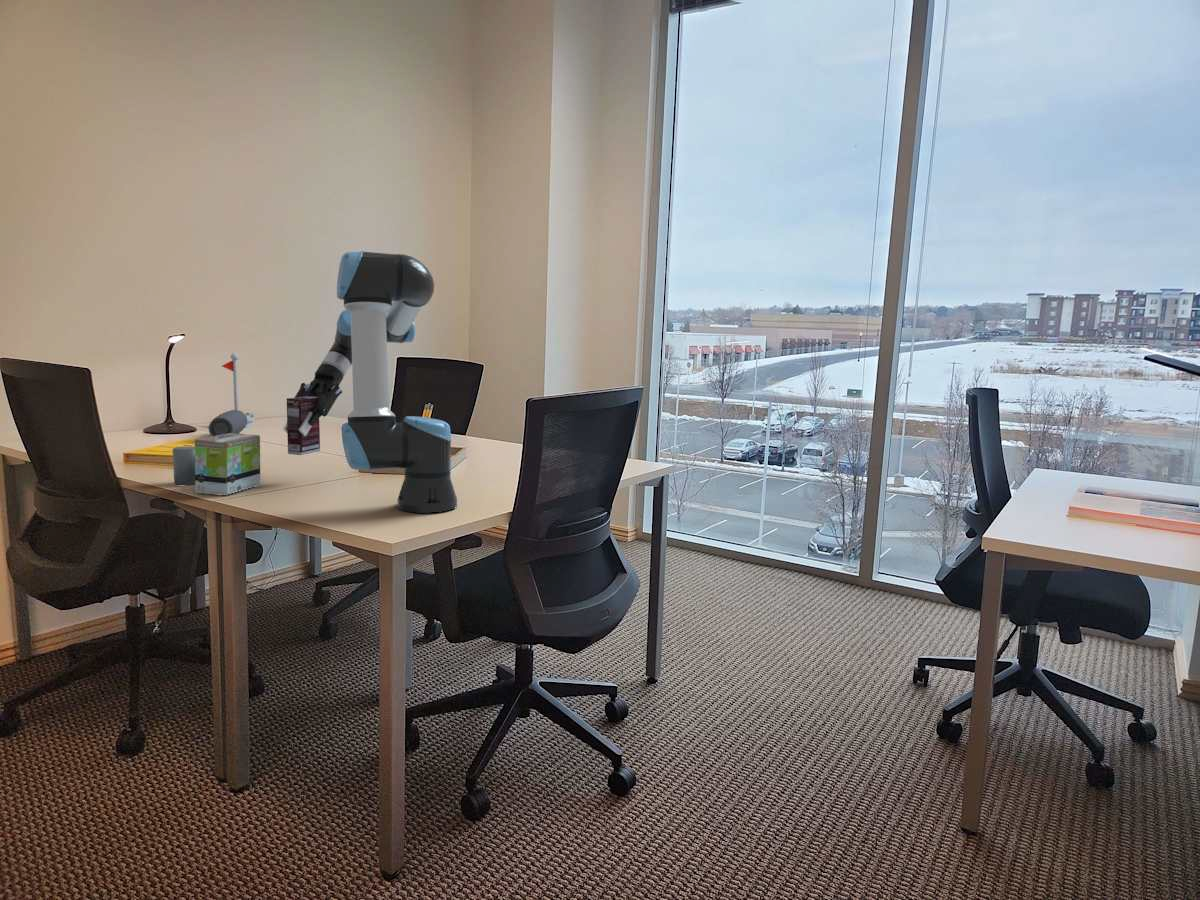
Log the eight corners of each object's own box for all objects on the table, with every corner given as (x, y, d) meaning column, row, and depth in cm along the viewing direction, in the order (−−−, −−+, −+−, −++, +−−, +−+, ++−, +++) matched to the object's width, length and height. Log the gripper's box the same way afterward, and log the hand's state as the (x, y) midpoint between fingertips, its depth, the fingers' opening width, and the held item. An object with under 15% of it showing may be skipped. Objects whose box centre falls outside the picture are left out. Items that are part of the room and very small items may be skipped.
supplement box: (307, 449, 243) (306, 395, 240) (320, 451, 241) (320, 396, 239) (286, 454, 235) (285, 397, 232) (300, 455, 233) (299, 399, 231)
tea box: (228, 496, 220) (226, 441, 217) (194, 494, 222) (192, 439, 219) (262, 485, 234) (260, 433, 232) (230, 483, 236) (228, 431, 234)
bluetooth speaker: (223, 434, 320) (222, 408, 319) (249, 434, 322) (248, 408, 320) (207, 443, 298) (206, 415, 297) (234, 443, 300) (233, 416, 298)
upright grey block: (207, 482, 235) (206, 447, 234) (187, 487, 229) (185, 451, 227) (189, 479, 238) (187, 445, 236) (168, 484, 231) (166, 448, 230)
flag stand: (248, 424, 347) (246, 352, 342) (259, 428, 337) (256, 354, 332) (215, 426, 339) (212, 352, 334) (225, 430, 329) (222, 354, 324)
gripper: (362, 381, 246) (326, 443, 233) (314, 377, 252) (276, 438, 240) (351, 363, 240) (313, 426, 227) (301, 360, 247) (262, 421, 234)
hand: (294, 432), depth 234 cm, fingers closed on supplement box, 5 cm apart
